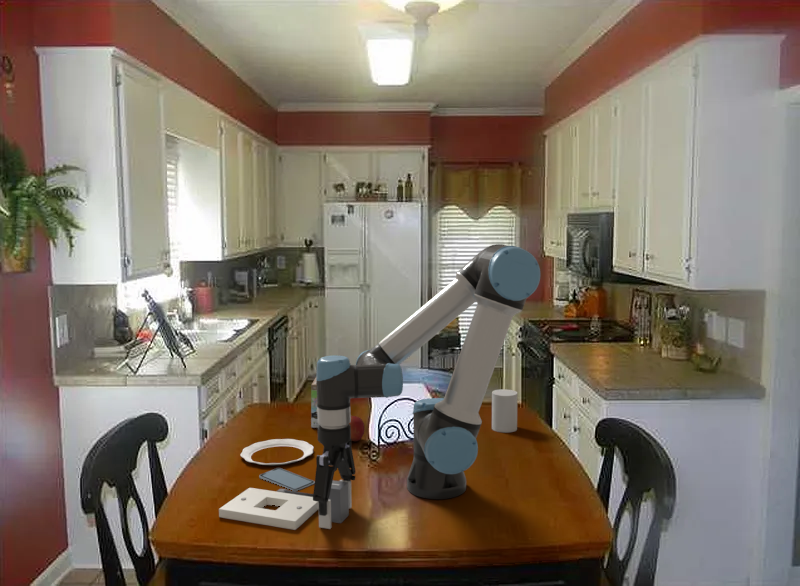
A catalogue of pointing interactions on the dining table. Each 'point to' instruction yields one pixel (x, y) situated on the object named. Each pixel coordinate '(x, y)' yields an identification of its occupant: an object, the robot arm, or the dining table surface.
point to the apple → (356, 428)
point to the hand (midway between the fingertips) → (335, 516)
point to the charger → (339, 501)
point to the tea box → (314, 405)
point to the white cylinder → (504, 410)
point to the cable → (294, 492)
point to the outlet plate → (286, 516)
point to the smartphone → (286, 479)
